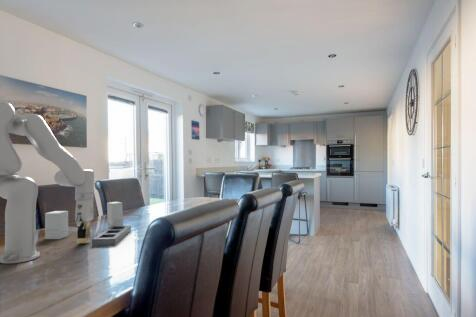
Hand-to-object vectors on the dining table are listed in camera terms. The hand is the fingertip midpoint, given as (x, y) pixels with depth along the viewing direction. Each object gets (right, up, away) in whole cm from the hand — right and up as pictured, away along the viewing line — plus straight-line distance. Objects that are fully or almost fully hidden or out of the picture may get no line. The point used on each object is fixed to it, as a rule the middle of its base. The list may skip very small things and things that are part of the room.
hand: (83, 236), depth 136 cm
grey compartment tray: (+9, -3, +10) cm, 14 cm away
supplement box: (-19, -4, +11) cm, 22 cm away
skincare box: (+2, -4, +30) cm, 30 cm away
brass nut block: (0, -3, 0) cm, 3 cm away
